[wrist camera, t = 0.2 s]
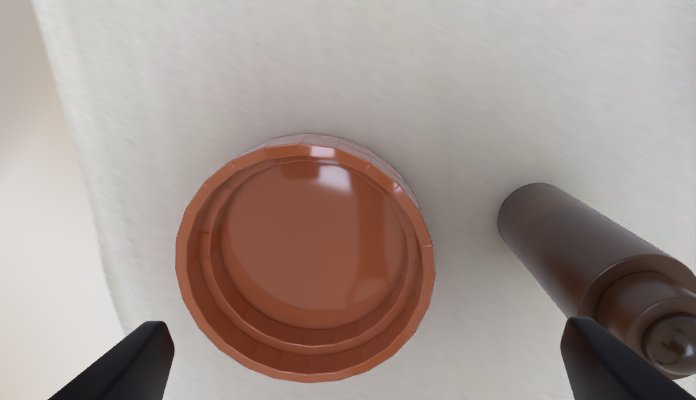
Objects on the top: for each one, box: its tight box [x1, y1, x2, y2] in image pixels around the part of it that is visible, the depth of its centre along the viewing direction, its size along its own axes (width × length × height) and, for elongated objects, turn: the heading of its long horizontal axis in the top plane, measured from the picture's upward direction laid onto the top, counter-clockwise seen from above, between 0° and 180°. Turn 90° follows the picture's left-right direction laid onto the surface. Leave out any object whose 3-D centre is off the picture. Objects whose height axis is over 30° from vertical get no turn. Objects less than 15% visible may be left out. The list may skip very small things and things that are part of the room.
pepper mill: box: [498, 183, 696, 380], centre depth 19 cm, size 4×4×13 cm
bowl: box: [175, 133, 435, 383], centre depth 24 cm, size 13×13×4 cm
